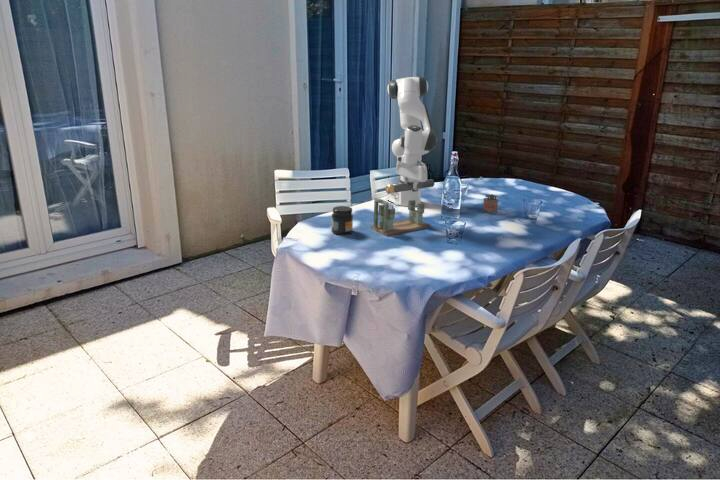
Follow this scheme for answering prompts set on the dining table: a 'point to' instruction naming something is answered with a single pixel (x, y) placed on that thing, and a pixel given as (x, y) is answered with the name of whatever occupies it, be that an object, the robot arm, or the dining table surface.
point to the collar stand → (397, 227)
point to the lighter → (490, 204)
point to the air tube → (408, 186)
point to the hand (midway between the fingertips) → (410, 187)
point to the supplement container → (342, 220)
